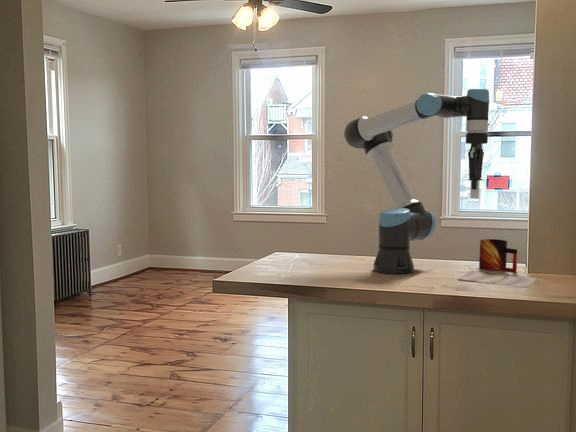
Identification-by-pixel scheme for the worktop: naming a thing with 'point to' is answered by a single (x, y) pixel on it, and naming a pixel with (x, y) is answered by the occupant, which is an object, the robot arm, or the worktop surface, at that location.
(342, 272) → the worktop surface
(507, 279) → the laid plank
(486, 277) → the plank
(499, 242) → the mug
